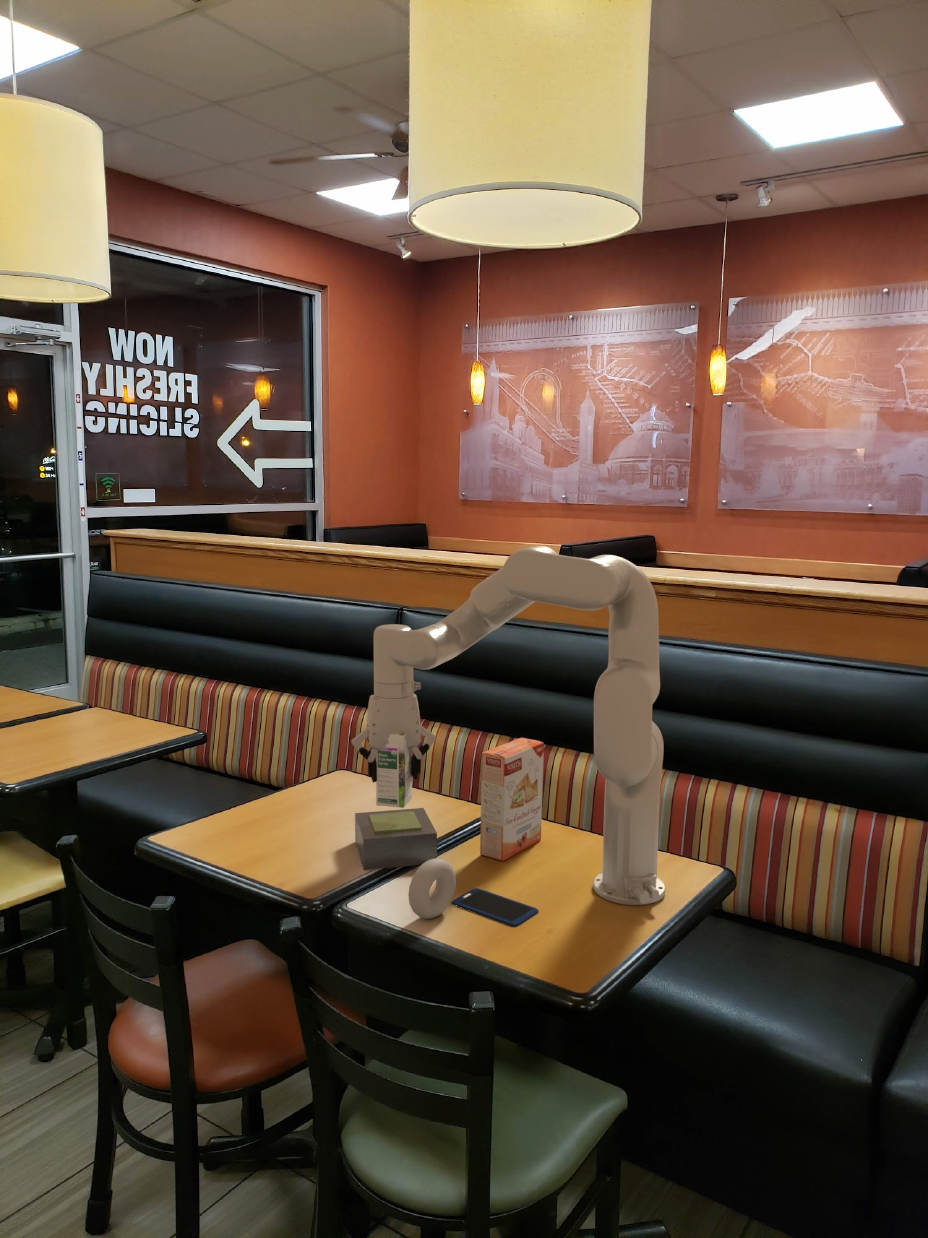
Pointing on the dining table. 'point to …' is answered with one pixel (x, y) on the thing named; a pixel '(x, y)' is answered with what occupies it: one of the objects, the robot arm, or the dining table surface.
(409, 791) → the syrup box
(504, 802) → the cracker box
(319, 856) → the dining table surface
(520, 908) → the cell phone
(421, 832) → the stand
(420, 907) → the donut
